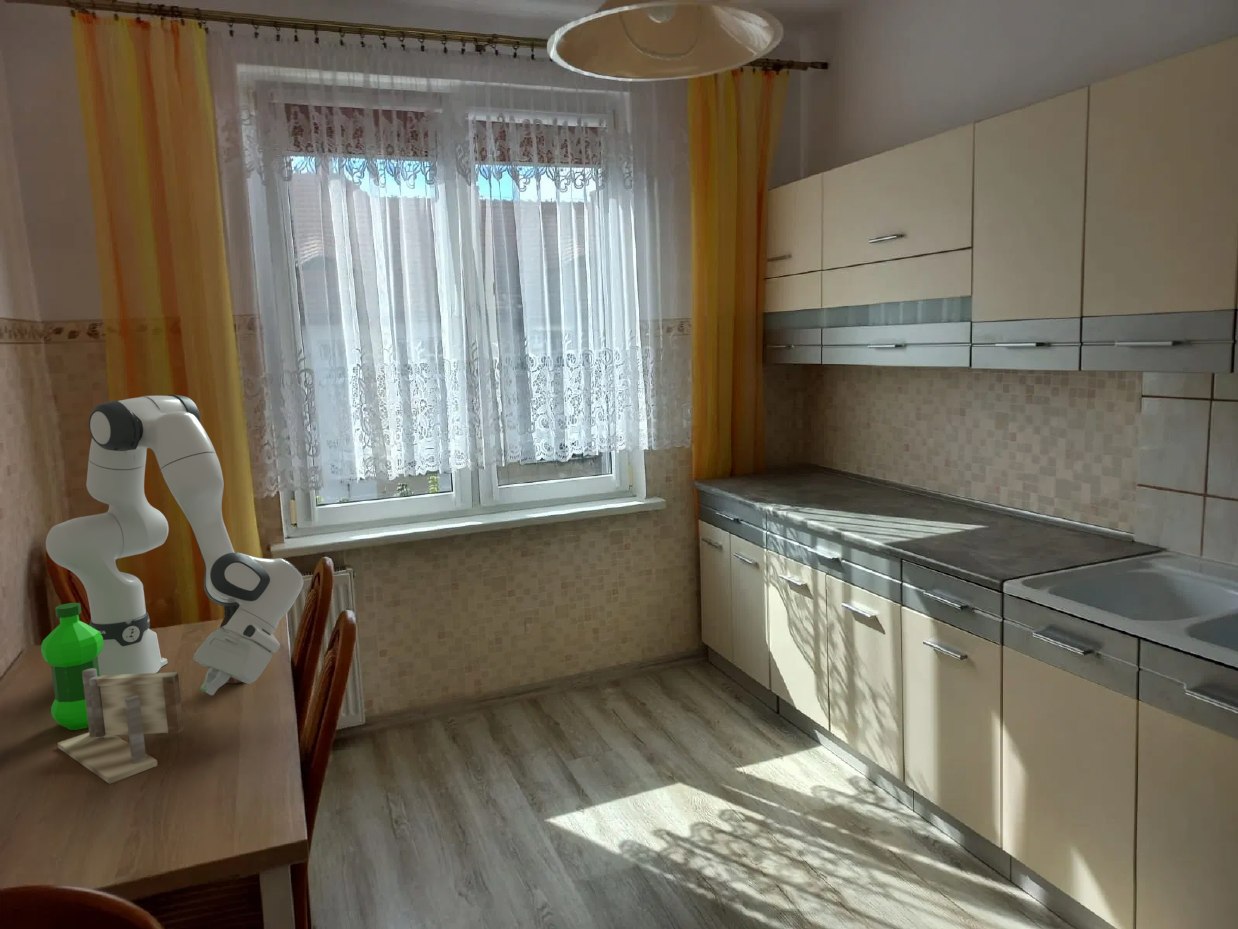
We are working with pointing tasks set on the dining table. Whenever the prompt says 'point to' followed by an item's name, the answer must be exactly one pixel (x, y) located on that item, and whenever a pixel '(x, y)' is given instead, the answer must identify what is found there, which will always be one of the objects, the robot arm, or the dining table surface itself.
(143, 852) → the dining table surface
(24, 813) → the dining table surface
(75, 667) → the plastic bottle
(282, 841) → the dining table surface
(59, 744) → the wooden stand
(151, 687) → the gate
